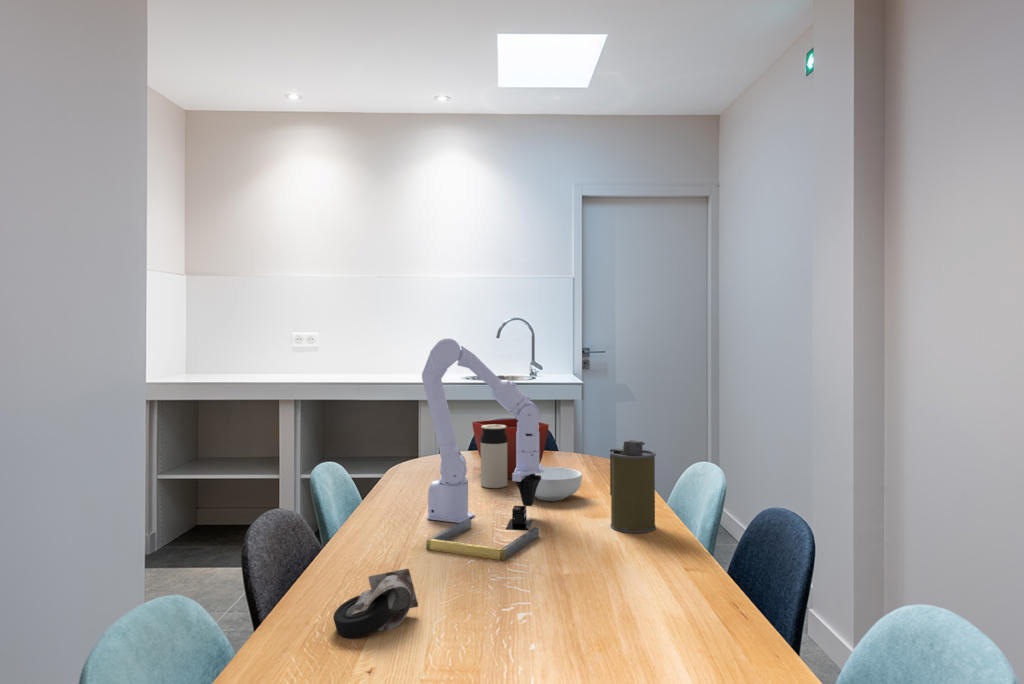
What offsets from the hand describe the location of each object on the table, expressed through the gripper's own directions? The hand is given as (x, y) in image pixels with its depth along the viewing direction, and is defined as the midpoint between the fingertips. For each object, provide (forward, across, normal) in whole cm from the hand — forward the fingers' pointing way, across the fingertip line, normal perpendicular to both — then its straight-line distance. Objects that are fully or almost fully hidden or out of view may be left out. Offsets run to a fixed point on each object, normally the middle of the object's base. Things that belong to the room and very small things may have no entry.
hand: (527, 505), depth 168 cm
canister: (+3, +1, -26) cm, 26 cm away
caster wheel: (+3, -69, -4) cm, 69 cm away
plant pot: (+3, +46, +26) cm, 53 cm away
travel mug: (+3, +28, +23) cm, 36 cm away
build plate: (+3, -8, -1) cm, 8 cm away
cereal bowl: (+3, +21, +2) cm, 21 cm away
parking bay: (+3, -23, 0) cm, 23 cm away
